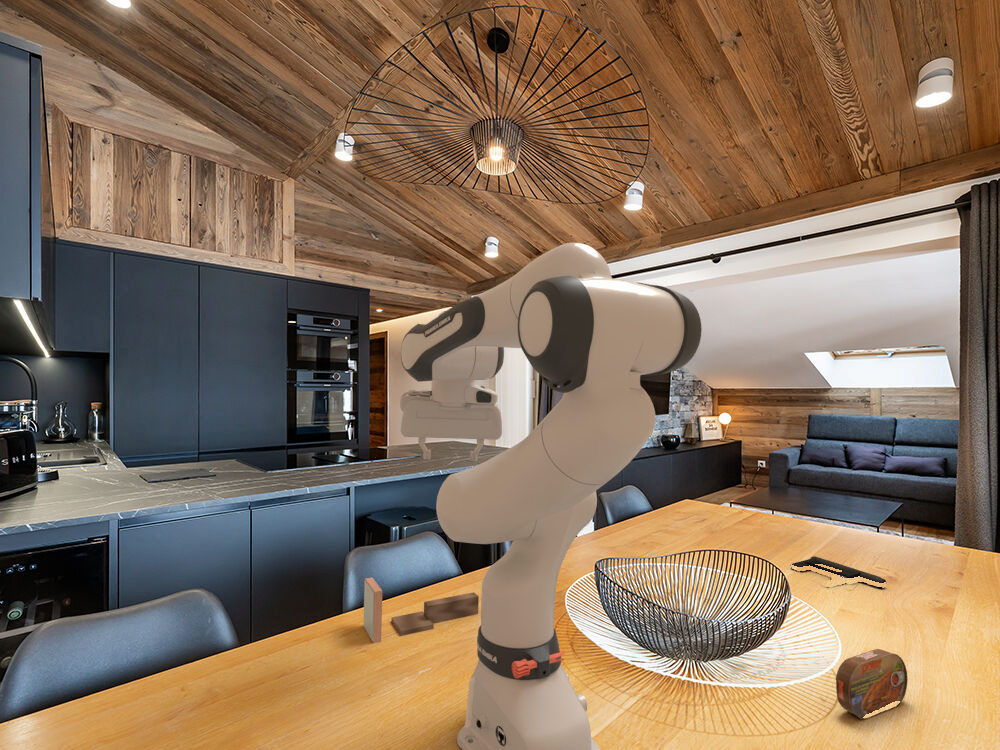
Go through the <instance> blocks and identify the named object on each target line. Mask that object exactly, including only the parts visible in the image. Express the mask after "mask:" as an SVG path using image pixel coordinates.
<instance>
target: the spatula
mask: <svg viewBox="0 0 1000 750" xmlns="http://www.w3.org/2000/svg"><path fill="white" fill-rule="evenodd" d="M479 601H480V600H479V595H478V594H476V593H475V592H469V593H468V592H467V593H463V594H462V593H461V594H458V595H453V596H448V597H443V598H438V599H432V600H428V601H427V600H425V601H423V611H418V612H417V611H416V612H413V613H407V614H402V615H397V616H392V617H391V624H392V625H393V626H394V627H395V629H396V630H397V632H398V633H399V635H400V637H402V636H408V635H411V634H415V633H416V634H417V633H422V632H425V631H426V632H427V631H430V630H434V628H435V627H434V626H435V624H438V623H442V622H447V621H453V620H456V619H462V618H466V617H470V616H476V615H479Z"/></svg>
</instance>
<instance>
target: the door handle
mask: <svg viewBox="0 0 1000 750" xmlns="http://www.w3.org/2000/svg"><path fill="white" fill-rule="evenodd" d="M791 564H792V565H794V566H797V567H803V566H809V565H810V566H813V567H816V568H818V569H822V570H825V571H828V572H831V573H834V574H837V575H840V577H842V576H843V577H844V578H854V577H858V576H860V577H863V578H866V579H869V580H872V581H875V582H879V583H884V582H886V583H887V580H886V579H885V578H882V577H881V576H878V575H875V574H872V573H869V572H866V571H862V570H859V569H858V568H857V569H856V568H853V567H850V566H847V565H844V564H841V563H839V562H835V561H832V560H828V559H825V558H822V557H819V556H815V555H814V556H811V557H810V558H808V559H805V560H801V561H798V562H793V563H791ZM815 564H823V565H826V566H829V567H833V568H835V569H839V570H842V572H836V571H833V570H830V569H827V568H824V567H821V566H818V565H815ZM843 577H842V578H843Z"/></svg>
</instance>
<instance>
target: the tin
mask: <svg viewBox="0 0 1000 750" xmlns="http://www.w3.org/2000/svg"><path fill="white" fill-rule="evenodd" d="M835 684H836V686H835V687H836V688H835V689H836V698H837V701H838V704H839V705H840V707H842V709H844V710H845V711H847V712H849V713H850V714H852V715H854V716H856V717H857V718H859V719H861V720H864V719H863V717H864V716H865V715H866V714H869V713H872V712H873V711H875V710H879V709H880V708H882V707H885V706H886V705H888V704H890V703H892V702H895V701H900V702H901V701H902V702H903V700H904V698H905V695H906V693H907V688H908V671H907V666H906V664H905V661H904V660H903V659H902V657H901V655H898V654H896V653H892V652H889V651H886V650H883V649H880V648H876V649H871V650H869V651H866V652H863V653H860V654H857V655H854V656H851V657H848V658H846V659H844V661H842V663H840V665H839V667H838V670H837V671H836V676H835ZM902 702H901V703H902Z"/></svg>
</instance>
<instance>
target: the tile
mask: <svg viewBox="0 0 1000 750" xmlns="http://www.w3.org/2000/svg"><path fill="white" fill-rule="evenodd" d="M363 588H364V592H363V593H364V594H363V595H364V597H363V628H364V630H365V632H367V635H368V636H369V638H370V640H371V642H373V644H377V643H381V642H382V628H383V627H382V622H383V621H382V617H383V590H382V588H381V587H380V586H379V584H378V583H377V581H376V580H375V579H374V577H366V578H364V587H363Z"/></svg>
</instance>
